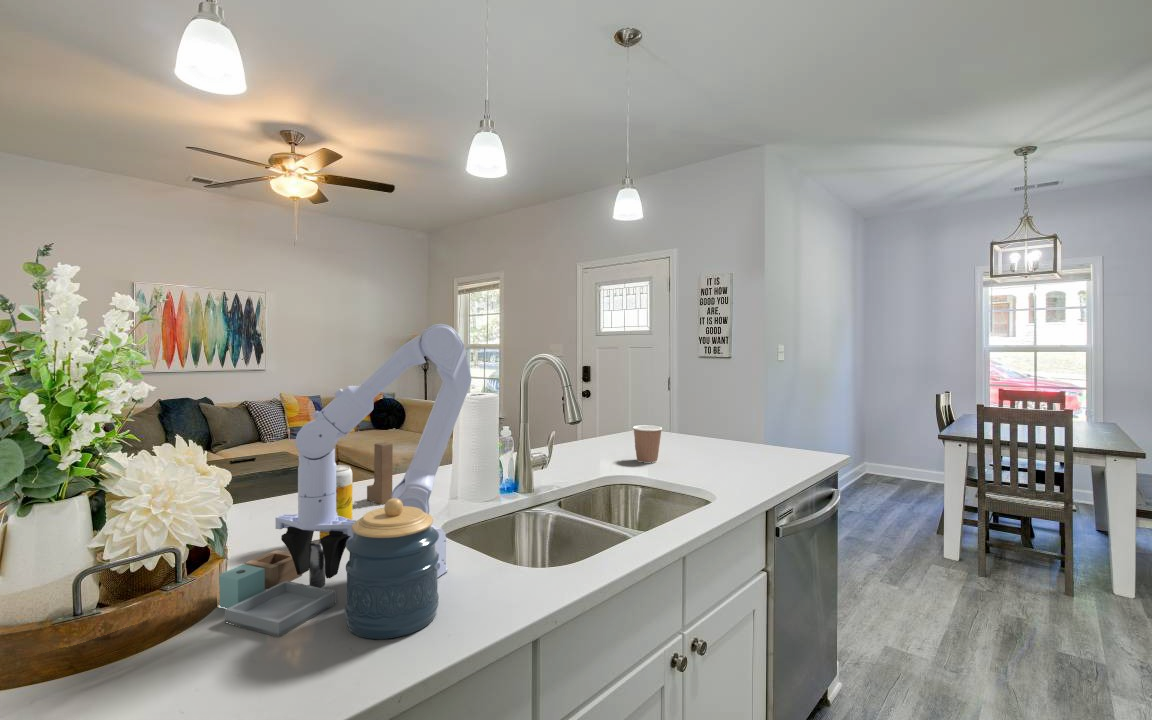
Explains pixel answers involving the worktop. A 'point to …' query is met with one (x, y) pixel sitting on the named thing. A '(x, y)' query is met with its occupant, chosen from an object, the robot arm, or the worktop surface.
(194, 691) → the worktop surface
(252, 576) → the teal block
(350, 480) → the beer can
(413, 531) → the canister
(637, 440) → the coffee cup
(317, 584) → the cylinder
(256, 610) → the tray
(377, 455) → the wooden block
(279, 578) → the brown wooden square frame
